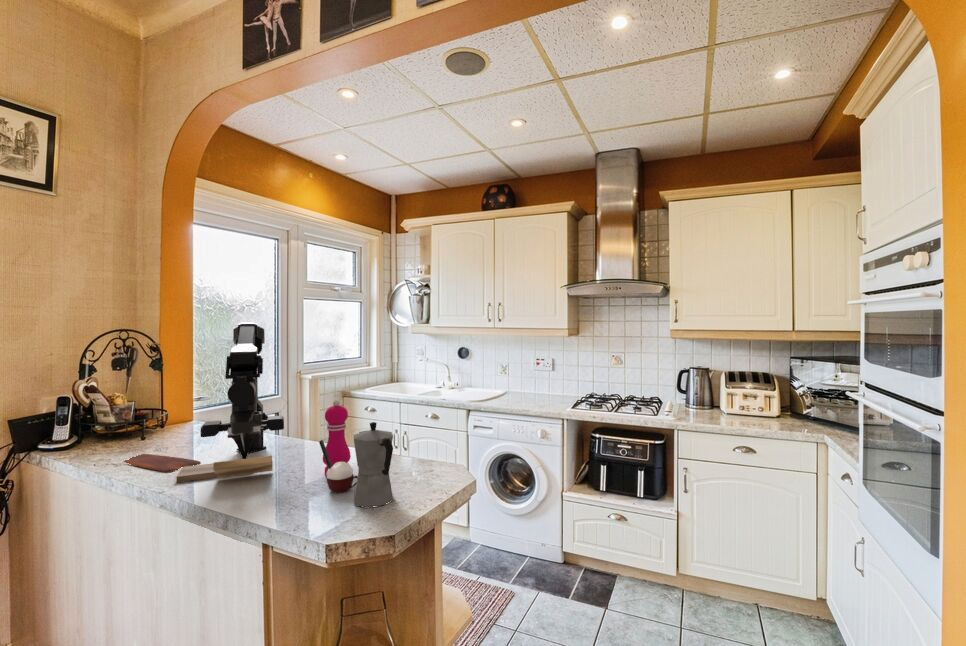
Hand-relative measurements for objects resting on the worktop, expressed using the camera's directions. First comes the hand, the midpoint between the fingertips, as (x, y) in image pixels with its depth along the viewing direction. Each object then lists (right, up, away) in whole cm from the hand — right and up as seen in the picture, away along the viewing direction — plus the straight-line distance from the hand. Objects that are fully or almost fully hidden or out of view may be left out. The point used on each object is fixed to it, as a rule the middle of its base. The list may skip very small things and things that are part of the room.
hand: (244, 459), depth 115 cm
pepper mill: (+22, -6, +6) cm, 23 cm away
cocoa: (+26, -6, -6) cm, 28 cm away
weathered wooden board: (-11, -6, +7) cm, 14 cm away
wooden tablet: (-35, -7, +17) cm, 39 cm away
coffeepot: (+37, -6, -13) cm, 40 cm away
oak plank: (0, -3, 0) cm, 3 cm away
